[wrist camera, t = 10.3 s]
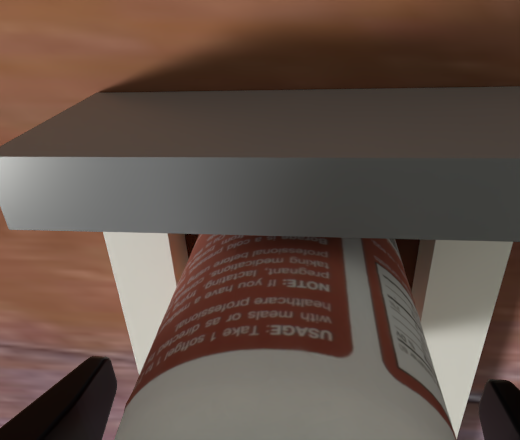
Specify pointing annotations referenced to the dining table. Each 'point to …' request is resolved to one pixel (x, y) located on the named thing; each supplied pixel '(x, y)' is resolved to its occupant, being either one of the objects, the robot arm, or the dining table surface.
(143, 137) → the guide track
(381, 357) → the pill bottle
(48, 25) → the dining table surface
